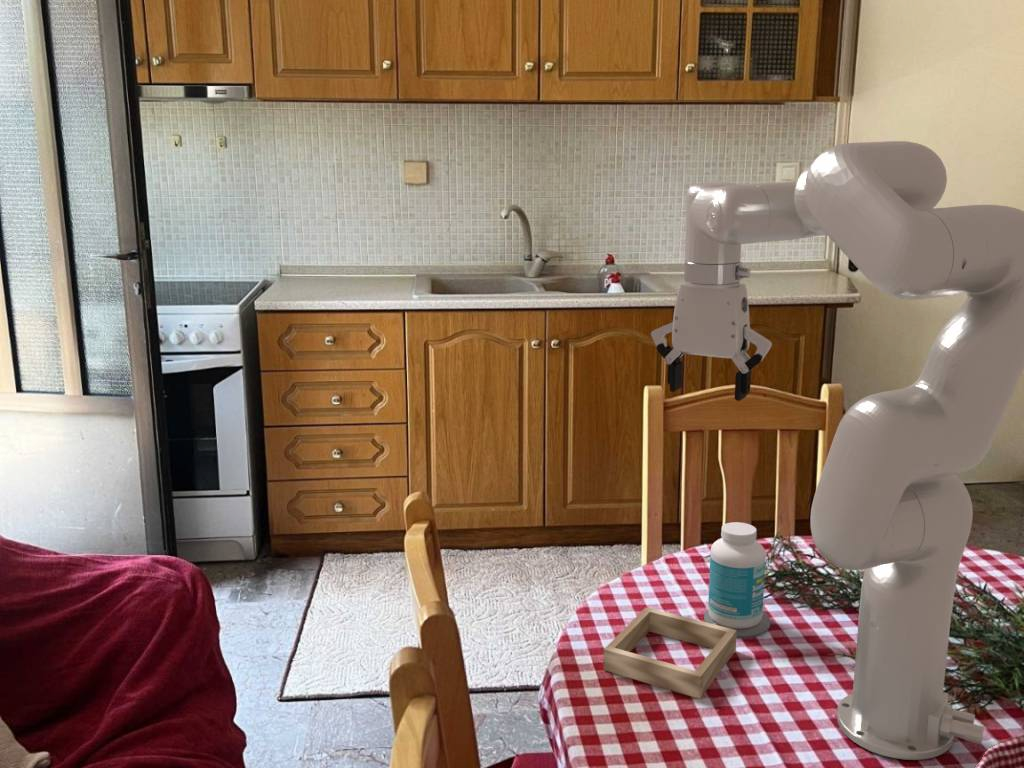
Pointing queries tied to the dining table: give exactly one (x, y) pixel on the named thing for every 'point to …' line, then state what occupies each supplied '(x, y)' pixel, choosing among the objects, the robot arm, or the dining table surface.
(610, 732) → the dining table surface
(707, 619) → the stone
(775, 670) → the dining table surface
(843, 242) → the robot arm
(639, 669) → the wooden frame
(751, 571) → the pill bottle
